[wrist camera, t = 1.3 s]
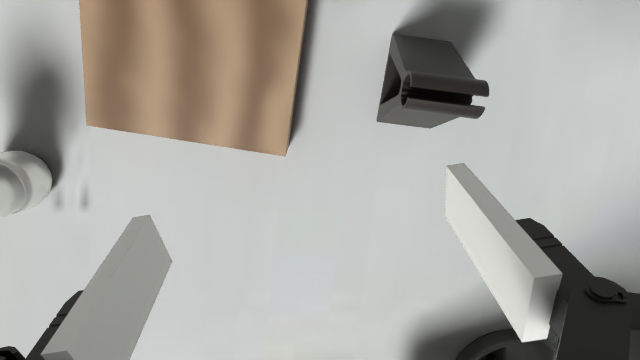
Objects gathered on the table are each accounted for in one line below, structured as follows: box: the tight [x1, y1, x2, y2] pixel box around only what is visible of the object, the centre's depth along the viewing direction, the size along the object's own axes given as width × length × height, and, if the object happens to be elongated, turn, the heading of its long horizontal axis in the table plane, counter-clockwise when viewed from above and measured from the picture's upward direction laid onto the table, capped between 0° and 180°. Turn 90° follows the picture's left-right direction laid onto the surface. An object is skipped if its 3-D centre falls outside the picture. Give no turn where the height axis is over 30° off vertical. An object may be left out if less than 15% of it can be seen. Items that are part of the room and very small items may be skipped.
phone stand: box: [377, 34, 489, 128], centre depth 33 cm, size 9×6×12 cm, turn 172°
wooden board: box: [79, 0, 309, 156], centre depth 35 cm, size 20×18×4 cm
